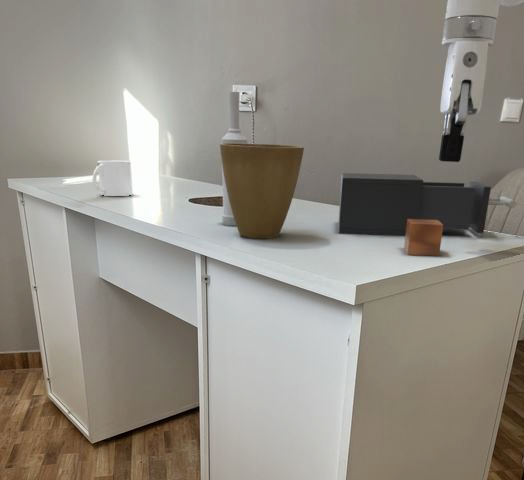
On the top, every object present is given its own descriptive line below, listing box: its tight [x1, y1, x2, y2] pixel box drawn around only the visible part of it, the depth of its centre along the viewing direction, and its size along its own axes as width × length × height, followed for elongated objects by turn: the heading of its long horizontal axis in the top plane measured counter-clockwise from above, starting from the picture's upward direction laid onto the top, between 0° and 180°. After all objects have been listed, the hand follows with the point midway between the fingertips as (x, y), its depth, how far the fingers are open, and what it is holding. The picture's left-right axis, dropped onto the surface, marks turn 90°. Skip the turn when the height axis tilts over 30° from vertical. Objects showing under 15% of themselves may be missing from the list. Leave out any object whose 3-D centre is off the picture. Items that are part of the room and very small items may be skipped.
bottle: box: [220, 91, 248, 227], centre depth 111 cm, size 5×5×25 cm
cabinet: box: [337, 172, 424, 237], centre depth 111 cm, size 15×13×10 cm
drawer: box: [419, 181, 517, 234], centre depth 109 cm, size 19×12×8 cm, turn 83°
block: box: [403, 219, 444, 257], centre depth 91 cm, size 5×5×5 cm
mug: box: [91, 159, 134, 197], centre depth 158 cm, size 12×9×9 cm
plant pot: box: [219, 142, 305, 239], centre depth 101 cm, size 15×15×16 cm
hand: (449, 161), depth 91 cm, fingers closed
